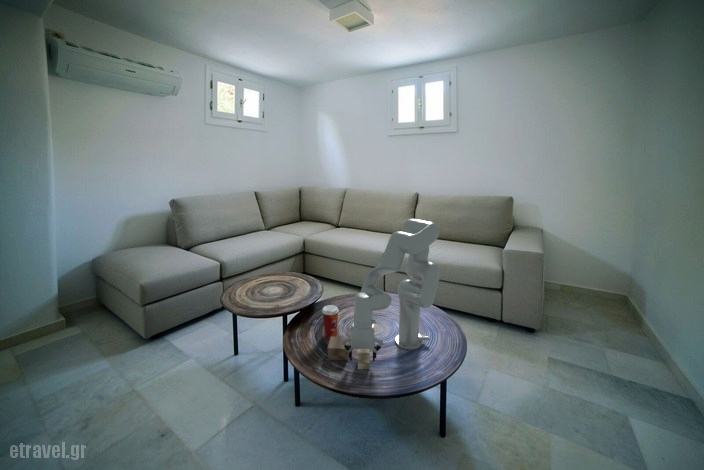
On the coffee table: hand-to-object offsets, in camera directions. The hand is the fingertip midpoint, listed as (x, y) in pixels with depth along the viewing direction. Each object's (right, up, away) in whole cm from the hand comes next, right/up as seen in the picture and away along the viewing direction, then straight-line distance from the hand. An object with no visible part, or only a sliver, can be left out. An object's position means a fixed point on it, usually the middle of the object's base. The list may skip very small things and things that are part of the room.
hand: (362, 359), depth 128 cm
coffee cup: (-15, +2, +24) cm, 28 cm away
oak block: (+1, -3, +1) cm, 3 cm away
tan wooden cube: (-10, -2, +9) cm, 14 cm away
